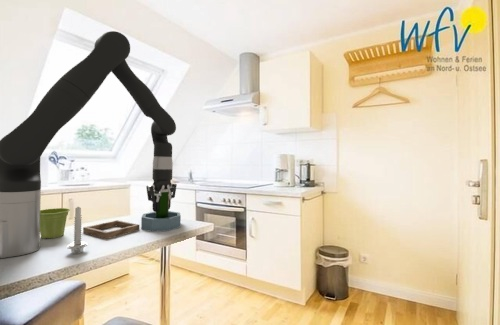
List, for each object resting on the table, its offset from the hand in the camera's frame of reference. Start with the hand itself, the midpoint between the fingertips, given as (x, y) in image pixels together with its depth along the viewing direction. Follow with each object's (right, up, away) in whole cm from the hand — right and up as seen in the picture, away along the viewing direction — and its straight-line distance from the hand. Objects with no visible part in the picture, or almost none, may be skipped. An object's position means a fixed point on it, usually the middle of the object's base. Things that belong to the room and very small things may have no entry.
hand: (161, 210), depth 103 cm
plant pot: (-31, -6, -16) cm, 36 cm away
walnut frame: (-15, -6, -9) cm, 19 cm away
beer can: (0, -4, 0) cm, 4 cm away
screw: (-14, -7, -30) cm, 34 cm away
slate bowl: (0, -6, 0) cm, 6 cm away
